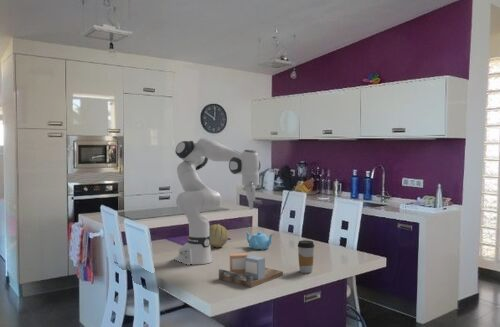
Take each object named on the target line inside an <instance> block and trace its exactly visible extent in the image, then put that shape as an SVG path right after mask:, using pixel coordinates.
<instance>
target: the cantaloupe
mask: <svg viewBox="0 0 500 327" xmlns="http://www.w3.org/2000/svg"><path fill="white" fill-rule="evenodd" d="M209 235H210V247H211V246H212V248H214V247H216V248H221V247H223V246H225V244H226V243H227V242H228V240H229V233H228V230H227V227H225V226H223V225H221V224H220V223H219V222H218V223H217V224H216V223H215V224H211V225H209Z"/></svg>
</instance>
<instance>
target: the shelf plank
mask: <svg viewBox="0 0 500 327" xmlns="http://www.w3.org/2000/svg"><path fill="white" fill-rule="evenodd" d="M283 275H284V271H282V270H278V269H273V268H269V267H265V278H262V279H259V280H257V279H253V277H251V276H247V275H245V274H239V273H234V272H230V270H226V269H222V268H221V269H220V268H219V269H218V280H221V281H224V282H228V283H229V282H230V283H232V284H237V285H240V286H241V285H242V286H243V287H244V286H245V287H247V288H248V287H249V288H254V287H256V286H258V285H262V284H265V283H267V282H269V281H272V280H274V279H277V278H280V277H282V276H283Z"/></svg>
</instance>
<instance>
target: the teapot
mask: <svg viewBox="0 0 500 327" xmlns="http://www.w3.org/2000/svg"><path fill="white" fill-rule="evenodd" d="M245 233H246V241H247V243H248V247H249V248H250V249H251V248H253V249H252V250H255V249H264V250H267V249H269V248H270V246H271V244H272V240H273V236H274V233H271V234H270V235H269V238H268V236H267V235H266V234H265V233H262V232H261V231H257V232H256V233H253V234H252V235H251V237H250V233H249V232H248V231H245Z"/></svg>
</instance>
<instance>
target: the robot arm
mask: <svg viewBox="0 0 500 327" xmlns="http://www.w3.org/2000/svg"><path fill="white" fill-rule="evenodd" d="M174 151H175V154H176V156H177V157H178V158H180V159H181V160H182V162H180V163H179V164H178V165H177V167H176V174H177V176H178V177H177V178H178V180H179V182H180V184H181V187H182V189H183V191H184V192H180V193H179V194H177V197H176V198H175V204H176V207H177V209H178V210H179V211H180V212H182V213H183V214H184V215H185V217H186V219H187V222H188V230H189V231H188V234H189V235H188V236H187V237H185V239H186V243H184V244H183V245H182V246H181V247H180V248H179V249H178V254H177V255H178V256H176V257H174V258H173V260H174V259H175V260H174V261H176V260H177V262H178V261H179V263H181V262H182V264H184V265H186V264H187V265H188V266H191V265H190V264H192V265H207V264H210V263H212V262H213V256H212V249H211V246H210V235H209V226H210V222H209V220H208V219H207V218H206V217H204V216H202V215H201V213H200V212H202V211H211V210H215V209H218V208H220V206H221V204H222V195H221V194H220V192H218V191H217V190H214V189H212V188H210V187H209V186H207V185H206V184H205V183H204V182H203V181H202V180H201V178H200V176H199V174H198V172H197V171H199V170H200V169H202V168H204V167H205V166H206V164H208V162H209V160H210V161H212V162H228V169H229V171H230V173H231V174H232V175H233V174H234V175H242V176H241V183H242V185H243V186H244V188H245V193H246V194H245V195H246V199H247V202H248V208H249V210H253V209H254V202H255V201H256V188H258V186H259V185H260V174H259V173H260V172H259V171H260V169H261V161H260V158H259V153H258V152H257V151H256V150H253V149H252V150H251V149H244V150H242V152H239V151H237V150H234V149H232V148H230V147H228V146H226V145H225V144H222V143H221V142H218V141H217V140H214V139H212V138H208V137H201V138H200V139H198V141H197V142H195V143H194V141H193V140H190V141H189V140H183V141H180V142H179V143H177V145H176V147H175V150H174ZM187 265H186V266H187Z"/></svg>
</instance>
